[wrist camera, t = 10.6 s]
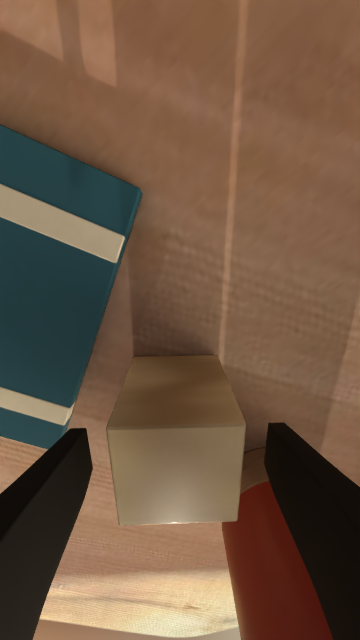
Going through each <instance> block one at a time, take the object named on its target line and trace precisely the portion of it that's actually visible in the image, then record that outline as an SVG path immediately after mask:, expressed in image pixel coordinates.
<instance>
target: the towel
mask: <svg viewBox="0 0 360 640" xmlns="http://www.w3.org/2000/svg"><path fill="white" fill-rule="evenodd" d="M141 197H142V192H141V190H140V188H138V187H136V186H134V185H132V184H130V183H127V182H125V181H123V180H121V179H119V178H117V177H114V176H112V175H110V174H108V173H106V172H103V171H101V170H99V169H97V168H95V167H92V166H90V165H88V164H86V163H84V162H81V161H79V160H77V159H75V158H73V157H71V156H68V155H66V154H64V153H62V152H60V151H57V150H55V149H53V148H51V147H49V146H46V145H44V144H42V143H40V142H38V141H35V140H33V139H31V138H29V137H27V136H25V135H22V134H20V133H18V132H16V131H14V130H11V129H9V128H7V127H5V126H3V125H0V436H2V437H5V438H9V439H12V440H16V441H20V442H23V443H27V444H30V445H34V446H38V447H41V448H45V449H48V450H49V449H50V448H51V447H52V446H53V445H54V444H55V443H56V442H57V441H58V440H59V439H60V438H61V437H62V436H63V435H64V434H65V432H66V429H67V426H68V423H69V420H70V417H71V414H72V411H73V408H74V405H75V401H76V398H77V395H78V392H79V389H80V386H81V383H82V380H83V377H84V374H85V371H86V367H87V364H88V361H89V358H90V355H91V352H92V349H93V346H94V343H95V340H96V336H97V333H98V330H99V327H100V324H101V321H102V318H103V315H104V312H105V309H106V306H107V302H108V299H109V296H110V293H111V290H112V287H113V284H114V281H115V278H116V275H117V272H118V268H119V265H120V262H121V259H122V256H123V253H124V250H125V247H126V244H127V241H128V238H129V234H130V231H131V228H132V225H133V222H134V219H135V216H136V213H137V210H138V207H139V203H140V200H141Z"/></svg>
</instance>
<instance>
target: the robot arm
mask: <svg viewBox="0 0 360 640" xmlns="http://www.w3.org/2000/svg"><path fill="white" fill-rule="evenodd" d="M264 466H265V469H266V472H267V475H268V478H269V482H270V484H271V487H272V490H273V493H274V496H275V498H276V500H277V503H278V505H279V507H280V510H281V512H282V514H283V517H284V519H285V521H286V524H287V526H288V528H289V530H290V533H291V535H292V537H293V539H294V542H295V544H296V546H297V549H298V551H299V553H300V555H301V558H302V560H303V562H304V565H305V567H306V569H307V571H308V574H309V576H310V579H311V581H312V584H313V586H314V589H315V591H316V593H317V596H318V599H319V602H320V604H321V607H322V610H323V613H324V615H325V618H326V621H327V624H328V627H329V629H330V632H331V635H332V638H333V640H360V487H359V486H357V485H356V484H355V483H354V482H352V481H351V480H350V479H349V478H348V477H346V476H345V475H344V474H343V473H342V472H340V471H339V470H338V469H337V468H336V467H334V466H333V465H332V464H331V463H330V462H328V461H327V460H326V459H325V458H324V457H323V456H322V455H320V454H319V453H318V452H317V451H316V450H315V449H313V448H312V447H311V446H310V445H309V444H308V443H307V442H306V441H304V440H303V439H302V438H301V437H300V436H299V435H298V434H297V433H295V432H294V431H293V430H292V429H291V428H290V427H289V426H287V425H286V424H285V423H269V424H268V432H267V440H266V448H265V456H264ZM92 469H93V467H92V461H91V454H90V448H89V442H88V436H87V430H86V428H72V429H70V430H68V431H67V432H66V433H65V434H64V435H63V436H62V437H61V438H60V439H59V440H58V441H57V442H56V443H55V444H54V445H53V446H52V447H51V448H50V449H49V450H47V451H46V452H45V453H44V454H43V455H42V456H41V457H40V458H39V459H38V460H37V461H36V462H35V463H34V464H33V465H32V466H31V467H30V468H28V469H27V470H26V471H25V472H24V473H23V474H22V475H21V476H20V477H19V478H18V479H17V480H16V481H15V482H13V483H12V484H11V485H10V486H9V487H8V488H7V489H5V490H4V491H3V492H2V493H1V494H0V640H32V639H33V636H34V633H35V630H36V627H37V624H38V621H39V618H40V615H41V611H42V608H43V605H44V602H45V600H46V597H47V594H48V591H49V589H50V586H51V583H52V581H53V578H54V575H55V573H56V570H57V568H58V565H59V563H60V560H61V558H62V555H63V552H64V550H65V547H66V545H67V542H68V540H69V537H70V535H71V532H72V530H73V527H74V524H75V522H76V519H77V517H78V514H79V511H80V509H81V506H82V504H83V501H84V498H85V495H86V491H87V488H88V484H89V480H90V477H91V473H92Z"/></svg>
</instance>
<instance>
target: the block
mask: <svg viewBox="0 0 360 640" xmlns="http://www.w3.org/2000/svg"><path fill="white" fill-rule="evenodd" d="M106 432H107V439H108V447H109V454H110V462H111V470H112V477H113V485H114V492H115V500H116V507H117V515H118V522H119V525H120V526H127V525H153V524H178V523H204V522H230V521H237V520H238V512H239V500H240V489H241V478H242V467H243V456H244V444H245V433H246V422H245V420H244V418H243V415H242V413H241V411H240V408H239V406H238V404H237V401H236V399H235V396H234V394H233V392H232V389H231V387H230V385H229V382H228V380H227V377H226V375H225V373H224V370H223V368H222V366H221V363H220V361H219V359H218V356H217V355H188V356H145V357H134V358H133V360H132V363H131V365H130V368H129V371H128V373H127V376H126V378H125V381H124V383H123V386H122V389H121V391H120V394H119V396H118V399H117V401H116V404H115V407H114V409H113V412H112V414H111V417H110V420H109V422H108V425H107V427H106Z"/></svg>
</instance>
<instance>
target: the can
mask: <svg viewBox="0 0 360 640" xmlns="http://www.w3.org/2000/svg"><path fill="white" fill-rule="evenodd" d="M264 456H265V448H260V449H255V450H252V451H249V452H247V453H244V456H243V467H242V478H241V489H240V500H239V512H238V520H237V521H230V522H222V532H223V538H224V543H225V549H226V555H227V561H228V567H229V572H230V578H231V584H232V590H233V596H234V601H235V607H236V613H237V619H238V625H239V630H240V636H241V640H333V638H332V635H331V632H330V629H329V627H328V624H327V621H326V618H325V615H324V613H323V610H322V607H321V604H320V602H319V599H318V596H317V593H316V591H315V589H314V586H313V584H312V581H311V579H310V576H309V574H308V571H307V569H306V567H305V565H304V562H303V560H302V558H301V555H300V553H299V551H298V549H297V546H296V544H295V542H294V539H293V537H292V535H291V533H290V530H289V528H288V526H287V524H286V521H285V519H284V517H283V514H282V512H281V510H280V507H279V505H278V503H277V500H276V498H275V496H274V493H273V490H272V487H271V484H270V482H269V478H268V475H267V472H266V469H265V466H264Z"/></svg>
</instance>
